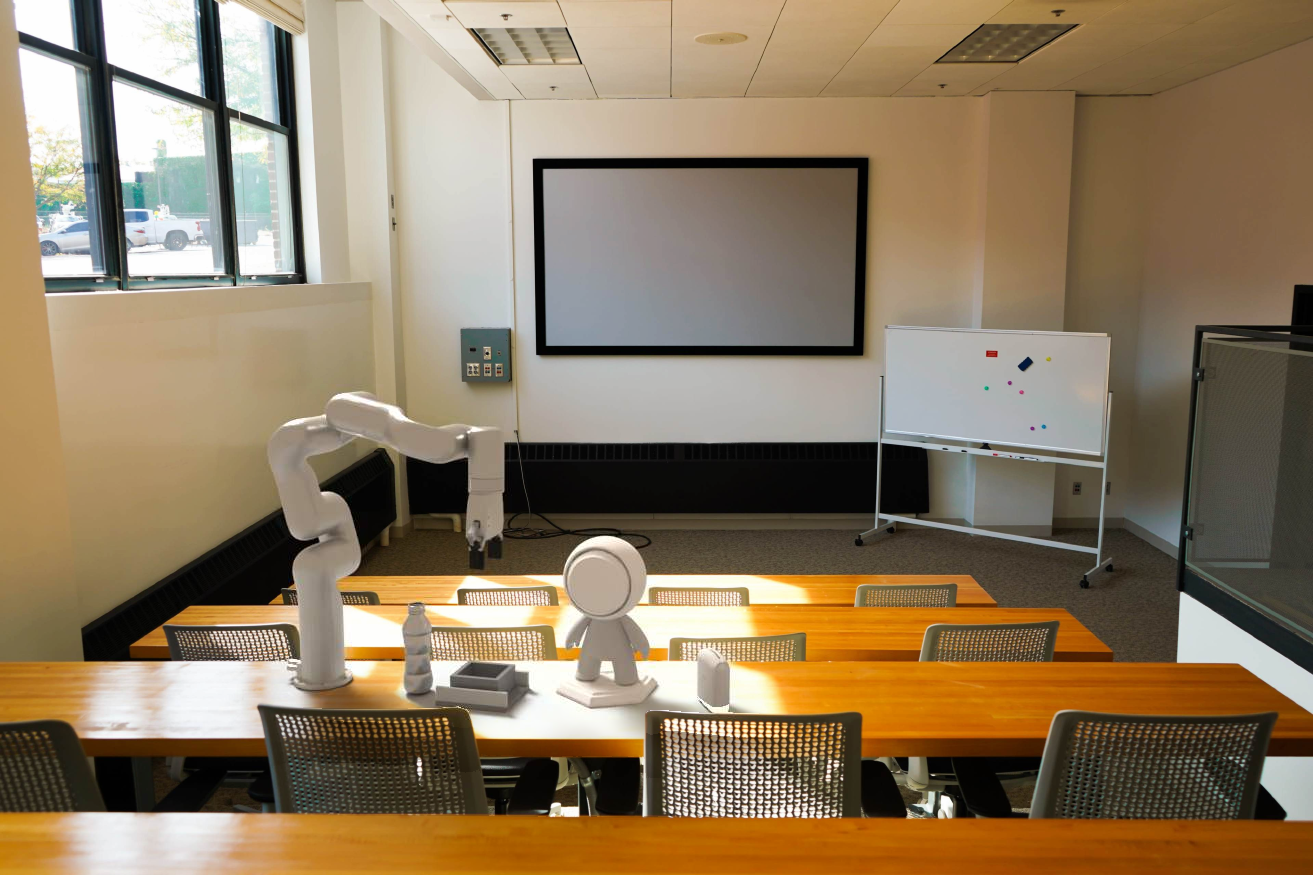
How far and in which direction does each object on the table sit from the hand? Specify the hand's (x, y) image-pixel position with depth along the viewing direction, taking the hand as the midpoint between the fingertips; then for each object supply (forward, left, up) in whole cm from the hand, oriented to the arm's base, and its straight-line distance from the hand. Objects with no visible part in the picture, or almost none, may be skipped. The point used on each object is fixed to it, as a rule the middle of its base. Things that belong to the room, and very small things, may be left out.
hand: (486, 563), depth 208 cm
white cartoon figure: (+24, +11, -30) cm, 40 cm away
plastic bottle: (-16, -1, -30) cm, 34 cm away
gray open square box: (-1, 0, -30) cm, 30 cm away
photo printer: (+49, +7, -30) cm, 58 cm away
